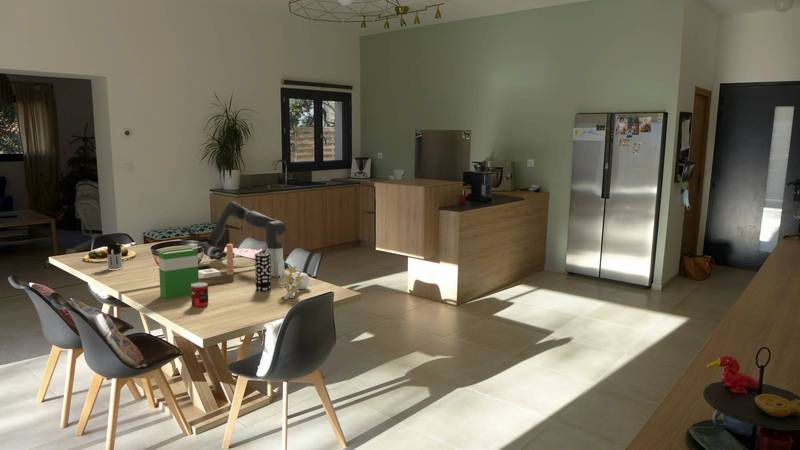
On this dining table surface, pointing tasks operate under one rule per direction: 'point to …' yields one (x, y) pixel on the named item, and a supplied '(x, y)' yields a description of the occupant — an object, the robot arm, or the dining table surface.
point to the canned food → (199, 294)
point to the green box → (177, 272)
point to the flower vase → (294, 281)
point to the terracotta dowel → (230, 259)
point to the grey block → (208, 272)
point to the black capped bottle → (114, 256)
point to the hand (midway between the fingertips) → (226, 257)
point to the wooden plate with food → (103, 256)
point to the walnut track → (217, 279)
